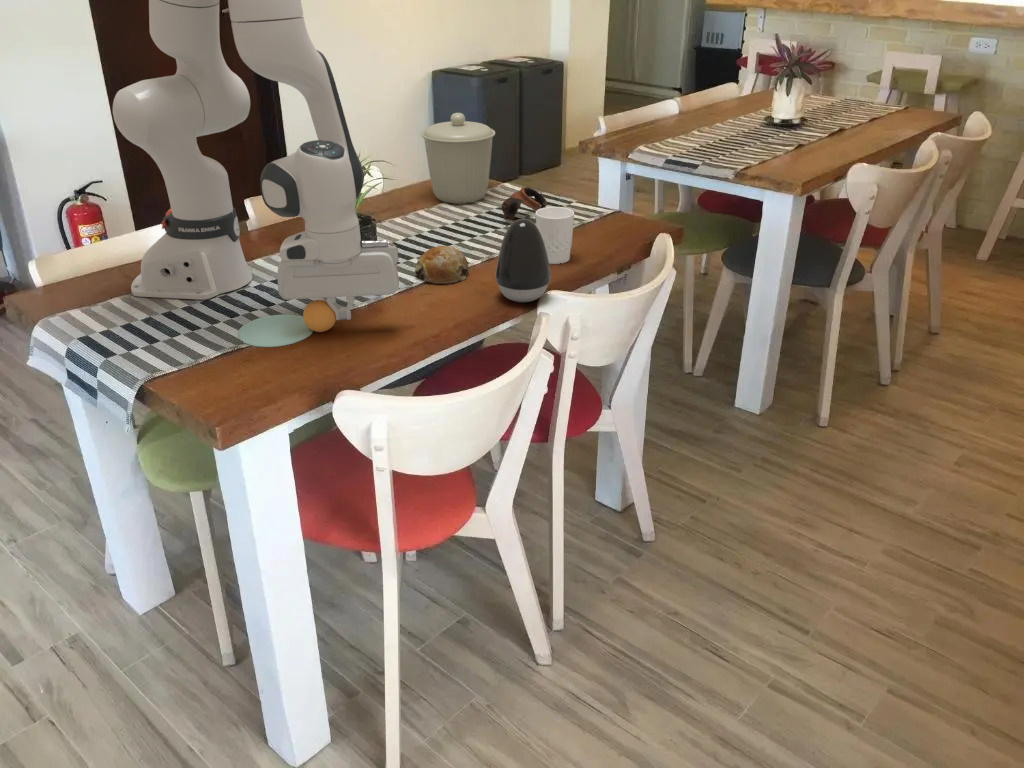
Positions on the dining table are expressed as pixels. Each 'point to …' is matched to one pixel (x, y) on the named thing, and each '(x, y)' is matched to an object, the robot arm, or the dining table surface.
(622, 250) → the dining table surface
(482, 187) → the canister
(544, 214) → the white cup
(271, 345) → the teal disc
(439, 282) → the bread roll
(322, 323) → the ball
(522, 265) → the dark grey egg shape
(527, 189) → the brown curved piece
